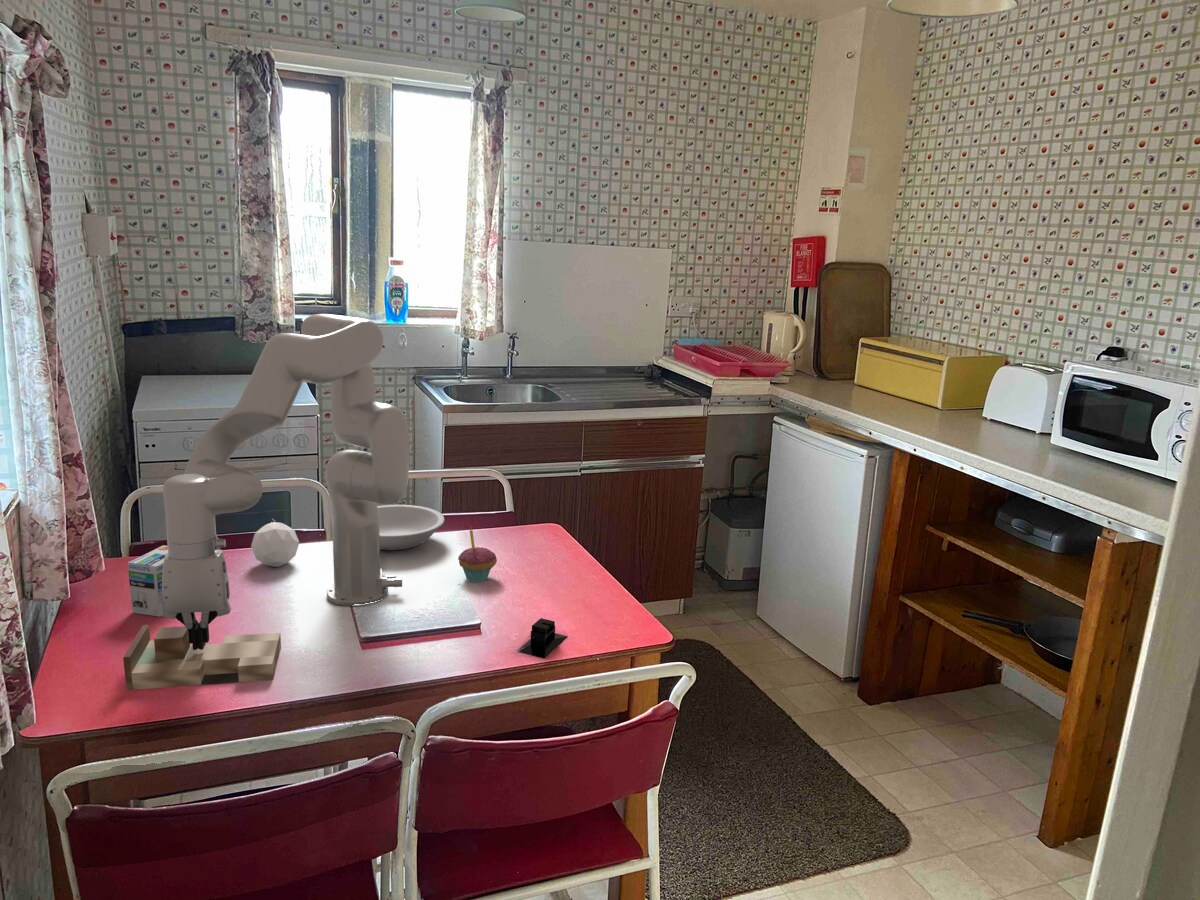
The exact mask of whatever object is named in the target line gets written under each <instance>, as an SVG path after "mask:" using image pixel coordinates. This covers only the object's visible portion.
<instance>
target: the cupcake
mask: <svg viewBox="0 0 1200 900" xmlns="http://www.w3.org/2000/svg"><path fill="white" fill-rule="evenodd" d="M469 536H470V543H471V547H469V548H466V549H465V550H463V551H462V552H461V553H460V554H459V555H458V558H457V561H458V563H459V566H460V567H461V568H462V570H463V572H464V575H465V578H466V580H467V581H469V582H471V583H482V582H486V581H487V580H488V578H489V575H490V572H491V570H492V569H493V567H494V566H495V565H496V564H497V560H498V559H497V555H496V554H495V552H494V551H492V550H491V549H489V548H487V547H482V546H481V547H479V546H477V547H475V546H476V545H475V539H474V530H473V529H472V527H471V526H469Z"/></svg>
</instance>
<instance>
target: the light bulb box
mask: <svg viewBox="0 0 1200 900" xmlns="http://www.w3.org/2000/svg"><path fill="white" fill-rule="evenodd" d="M167 553H168V545H161V546H159V547H157V548H155V549H153V550H151V551H149V552H147V553H145V554H143V555H141V556H139V557H137V558H135V559H132V560H130V561H128V562H127V569H128V581H129V591H130V601H131V602H130V603H131V612H132V613H133V614H139V615H147V616H153V617H158V618H159V617H163V610H164V609H163V604H162V573H163V564H164V558H165V555H166V554H167Z"/></svg>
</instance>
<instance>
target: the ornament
mask: <svg viewBox="0 0 1200 900" xmlns="http://www.w3.org/2000/svg"><path fill="white" fill-rule="evenodd" d="M299 545H300V541H299V538H298V535H297V533H296V531H295V530H294V529H293V528H291V527H290V526H288V525H286V524H285V523H284V522H283V523H282V522H277V518H272V521H271V522H270V523H267V524H265V525H263V526H261V527H260V528H259V529H258V530H257V531H256V532H254V534H253V538H252V542H251V545H250V547H251V550H252V552H253V555H254V557H255V559H256V560H257V561H259V562H260V563H262V564H263V565H265V566H267V567H274V568H277V567H281V566H283V565H285V564H287V563H289V562H290V561H291V560H292V559H293V558H295V557H296V554H297V552H298V548H299Z"/></svg>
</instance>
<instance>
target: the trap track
mask: <svg viewBox="0 0 1200 900" xmlns="http://www.w3.org/2000/svg"><path fill="white" fill-rule="evenodd" d="M281 638H282V637H281V632H272V633H271V632H270V633H268V632H267V633H252V634H237V635H233V634H232V635H225V636H224V637H223V641H222V643H211V644H210V643H209V644H207V643H206V644H205V646H204V649H203V650H200V649H197V650H193V645H192V644H190V648H189V650H188V652H187V654H186V656H185V658H184V659H176V660H159V661H156V658H155V646H154V639H151V634H150V625H149V624H142V626H141V627H140V629H139V631H138V632H137V634H136V635H135V638H133V640H132V642H131V643H130V645H129V647H128V649H127V650H126V652H125V653H124V655H123V657H122V658H123V667H124V668H123V670H124V678H125V679H124V680H125V690H126V691H130V690H133V691H134V690H144V689H161V688H174V687H175V688H176V687H188V686H202V685H215V684H230V683H231V684H233V683H244V682H261V681H273V680H274V677H275V674H276V669H277V665H278V662H279V657H280V654H281V648H282V639H281Z"/></svg>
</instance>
